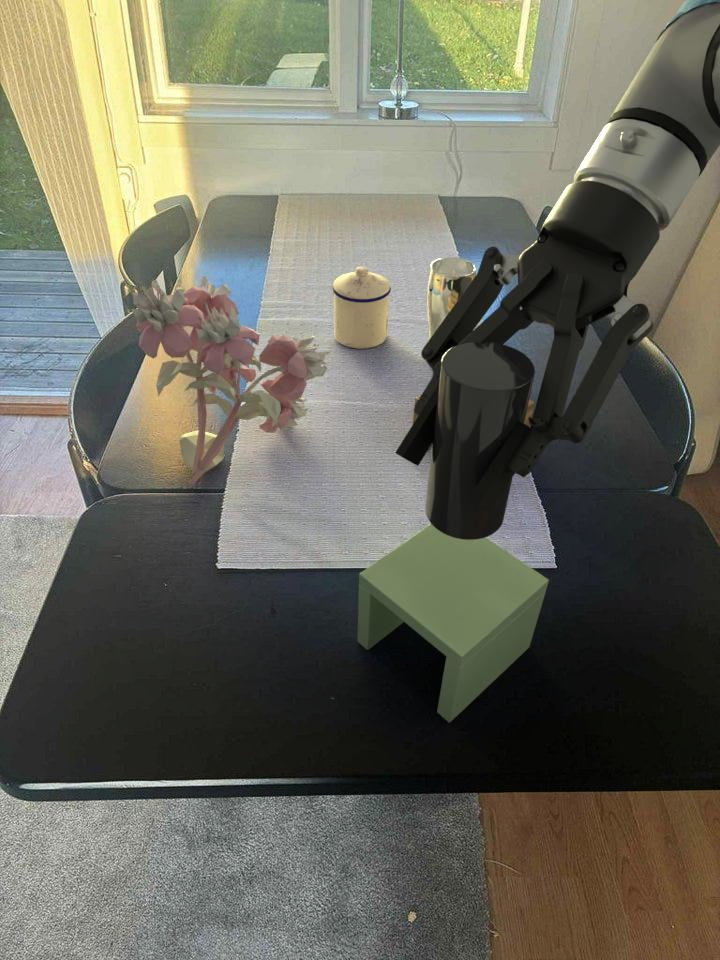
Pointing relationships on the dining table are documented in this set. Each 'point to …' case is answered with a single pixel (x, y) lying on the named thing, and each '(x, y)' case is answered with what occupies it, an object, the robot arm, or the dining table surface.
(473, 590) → the green step stool
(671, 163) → the robot arm
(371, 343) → the teacup with lid
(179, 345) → the flower
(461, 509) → the dark grey cylinder
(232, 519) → the dining table surface
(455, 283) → the beer glass
